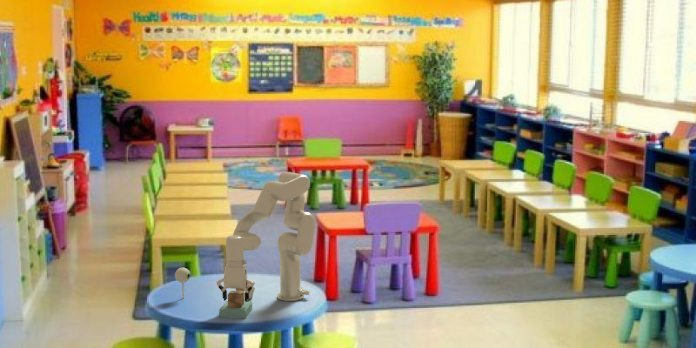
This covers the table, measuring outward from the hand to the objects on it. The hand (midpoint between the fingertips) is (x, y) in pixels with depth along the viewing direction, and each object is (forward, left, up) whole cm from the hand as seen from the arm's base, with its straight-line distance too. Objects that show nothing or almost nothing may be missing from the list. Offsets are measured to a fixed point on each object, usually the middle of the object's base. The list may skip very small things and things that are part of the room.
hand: (235, 300), depth 397 cm
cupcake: (+1, -22, -6) cm, 23 cm away
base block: (0, 0, -7) cm, 7 cm away
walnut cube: (0, 0, -3) cm, 3 cm away
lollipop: (+30, -18, -6) cm, 36 cm away
